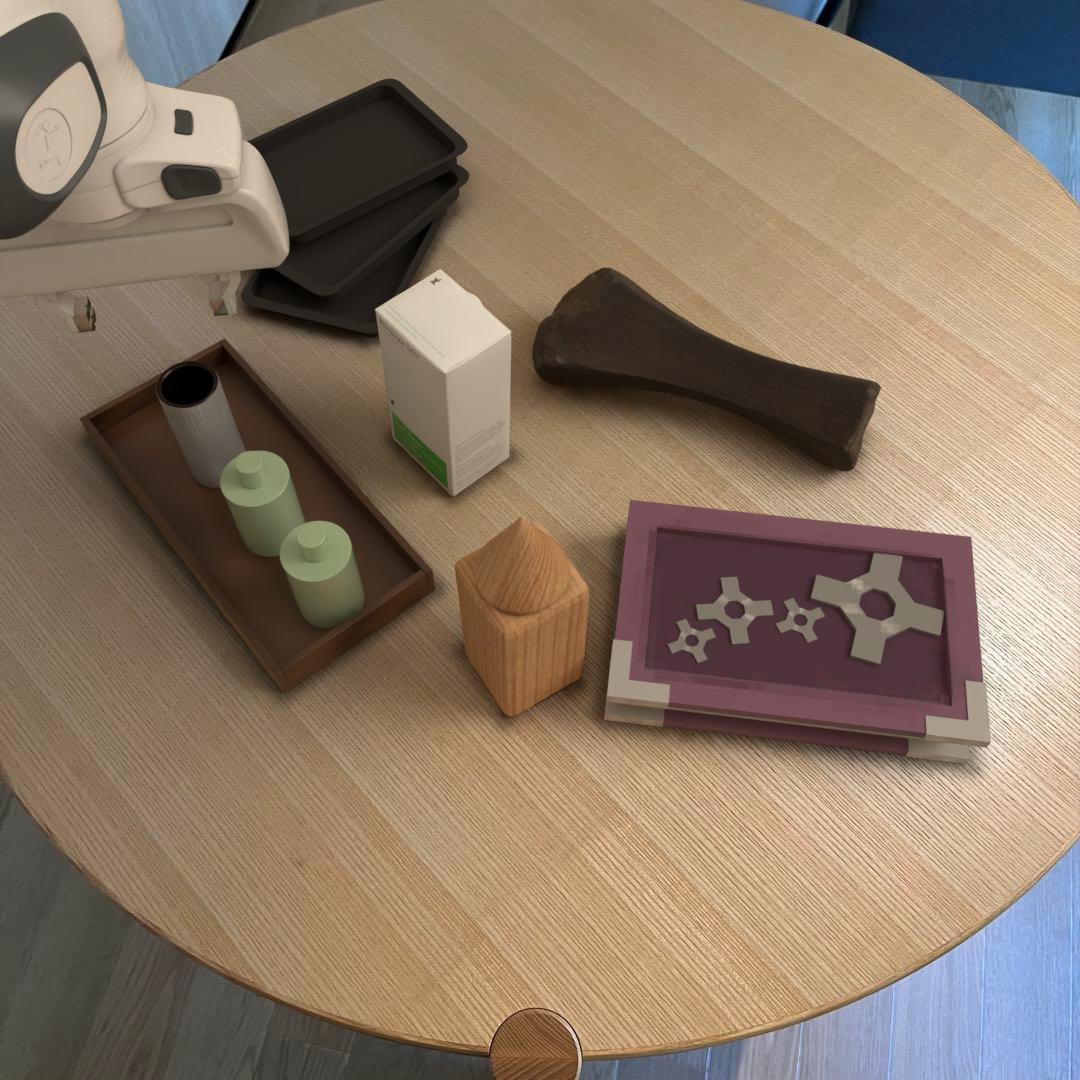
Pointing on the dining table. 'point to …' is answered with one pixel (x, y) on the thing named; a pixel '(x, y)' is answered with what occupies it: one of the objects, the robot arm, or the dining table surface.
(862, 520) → the dining table surface
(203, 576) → the walnut tray
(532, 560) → the decorative item
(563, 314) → the dark brown bone
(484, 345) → the cosmetic box
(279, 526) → the bottles
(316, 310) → the tray
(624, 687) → the book
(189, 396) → the planter
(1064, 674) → the dining table surface
